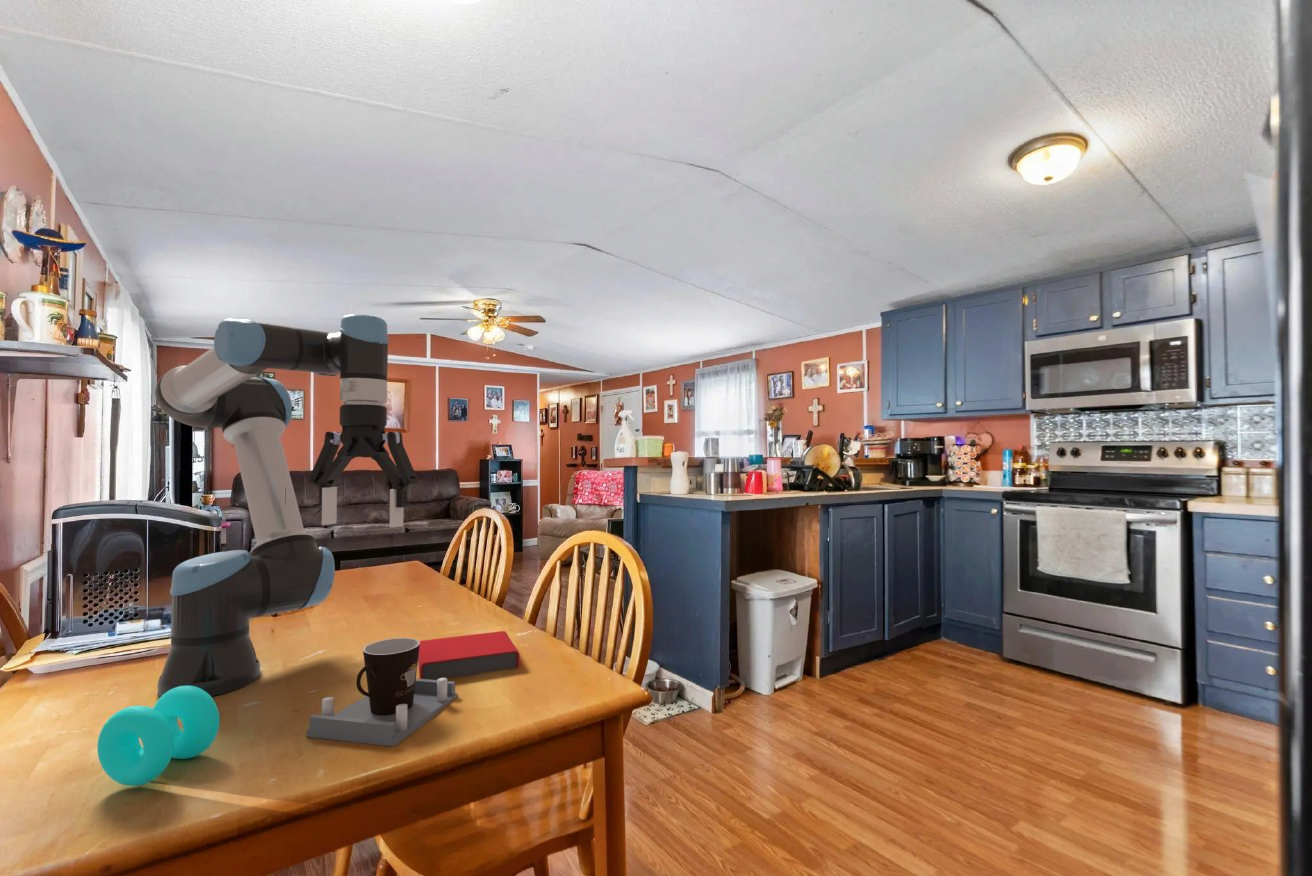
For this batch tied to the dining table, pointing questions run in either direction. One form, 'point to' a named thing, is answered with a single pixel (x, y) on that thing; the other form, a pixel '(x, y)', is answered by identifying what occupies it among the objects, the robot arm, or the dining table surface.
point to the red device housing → (466, 655)
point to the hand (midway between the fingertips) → (362, 525)
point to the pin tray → (379, 729)
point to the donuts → (157, 735)
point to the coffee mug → (390, 674)
